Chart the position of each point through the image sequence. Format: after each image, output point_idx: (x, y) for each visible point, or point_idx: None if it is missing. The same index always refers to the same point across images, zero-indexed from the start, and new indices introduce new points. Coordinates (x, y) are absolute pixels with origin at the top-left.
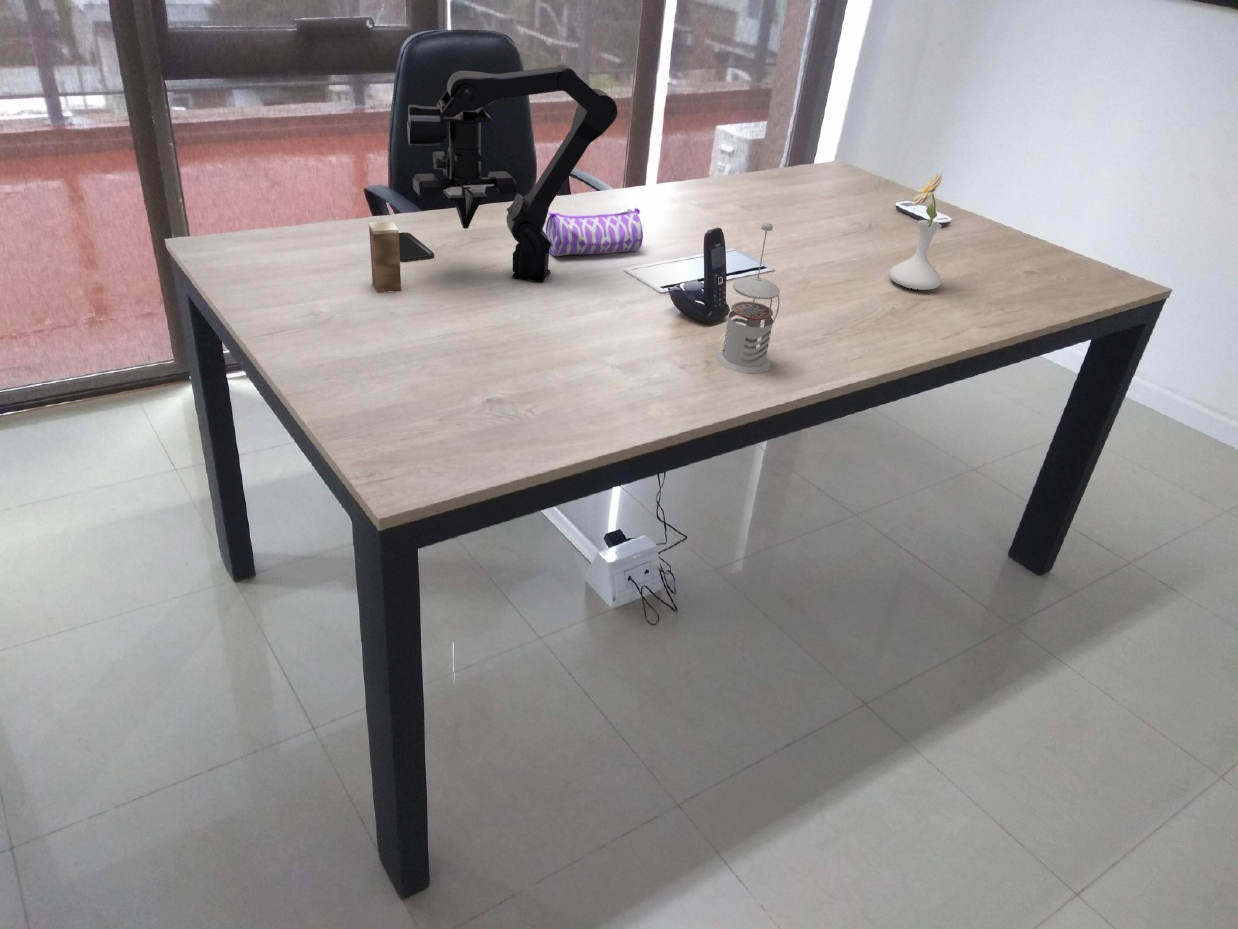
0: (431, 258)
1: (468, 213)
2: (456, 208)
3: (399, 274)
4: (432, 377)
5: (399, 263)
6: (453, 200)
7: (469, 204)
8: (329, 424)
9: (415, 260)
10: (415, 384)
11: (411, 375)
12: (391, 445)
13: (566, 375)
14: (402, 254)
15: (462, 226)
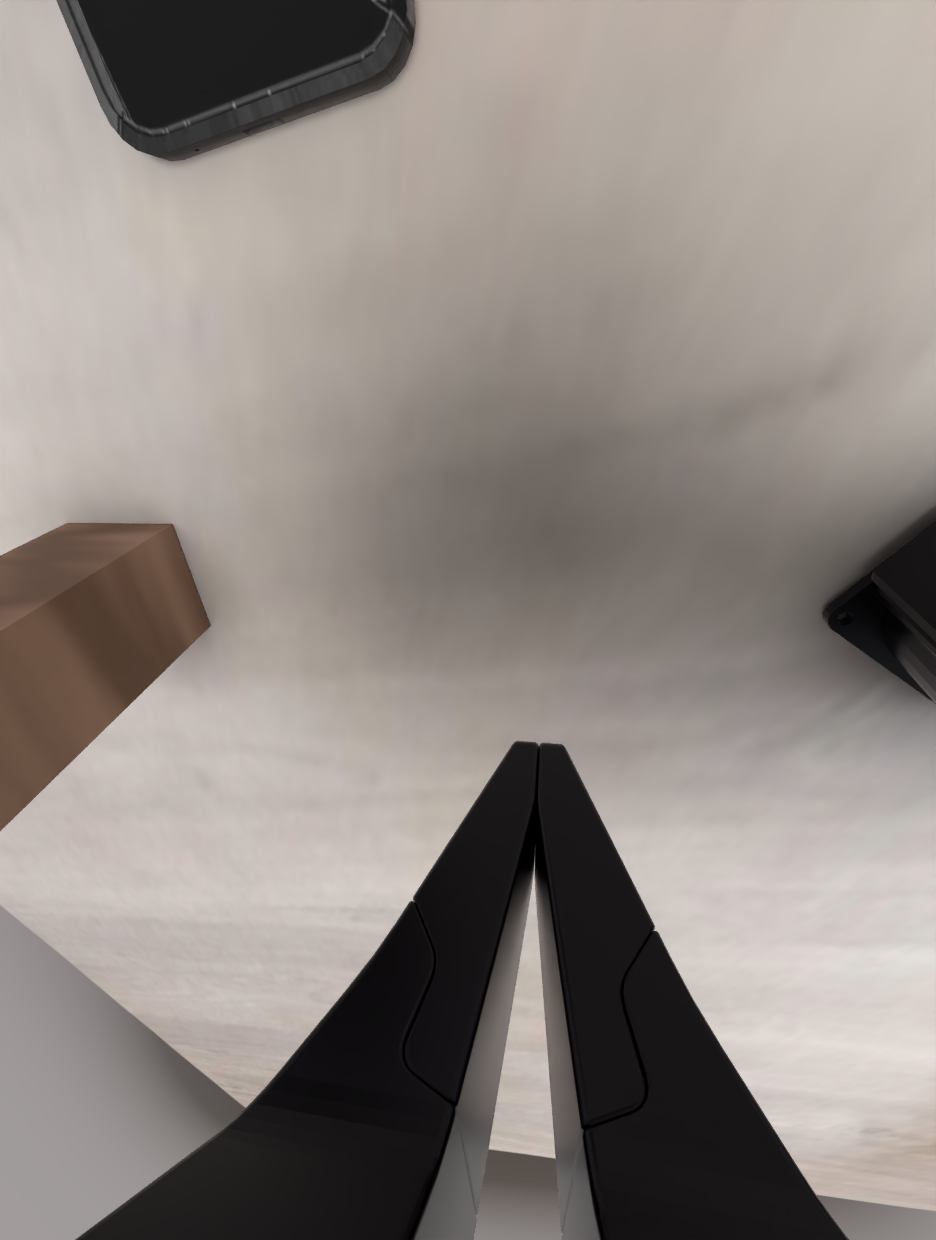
0: (385, 83)
1: (546, 1021)
2: (394, 939)
3: (155, 673)
4: (317, 1003)
5: (115, 716)
6: (287, 1097)
7: (565, 1206)
8: (163, 1025)
9: (252, 128)
10: (285, 1006)
11: (276, 989)
12: (256, 1070)
13: None
14: None
15: (512, 747)
